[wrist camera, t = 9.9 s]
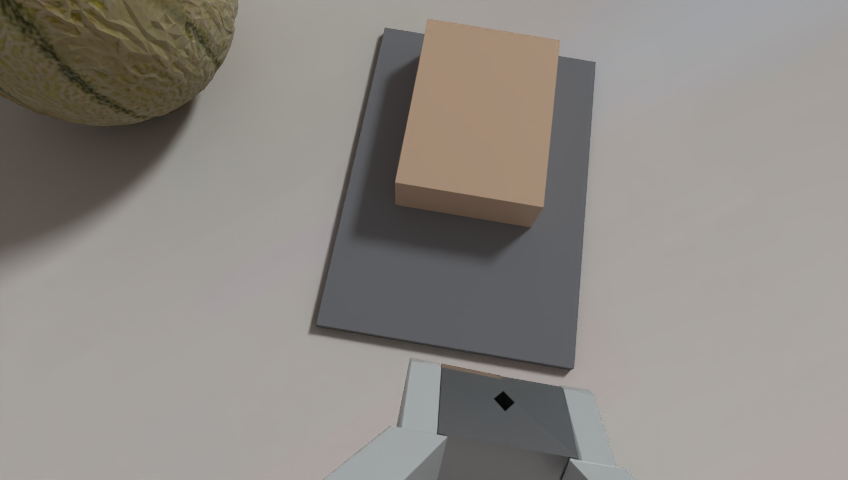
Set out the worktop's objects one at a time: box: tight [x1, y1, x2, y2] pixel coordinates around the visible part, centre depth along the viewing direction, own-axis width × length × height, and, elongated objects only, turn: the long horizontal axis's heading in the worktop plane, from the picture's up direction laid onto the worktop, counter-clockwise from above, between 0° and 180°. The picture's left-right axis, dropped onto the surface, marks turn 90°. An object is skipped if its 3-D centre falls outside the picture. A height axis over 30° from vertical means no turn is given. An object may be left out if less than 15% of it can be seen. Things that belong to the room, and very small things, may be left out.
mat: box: [316, 28, 596, 370], centre depth 34 cm, size 20×14×1 cm
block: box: [395, 19, 560, 228], centre depth 34 cm, size 3×8×11 cm
